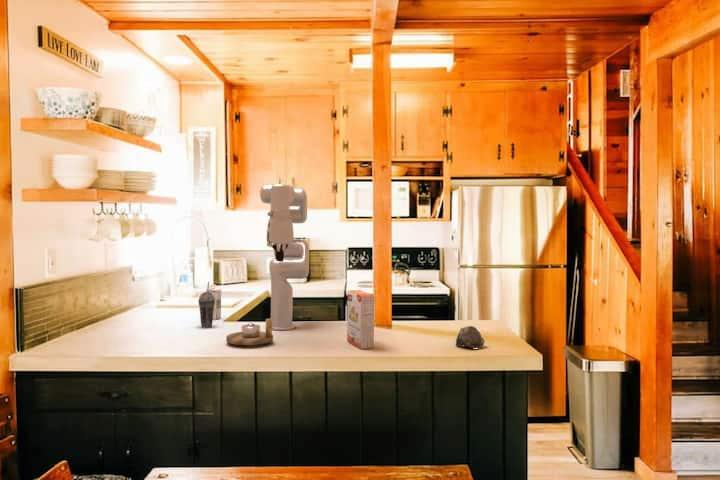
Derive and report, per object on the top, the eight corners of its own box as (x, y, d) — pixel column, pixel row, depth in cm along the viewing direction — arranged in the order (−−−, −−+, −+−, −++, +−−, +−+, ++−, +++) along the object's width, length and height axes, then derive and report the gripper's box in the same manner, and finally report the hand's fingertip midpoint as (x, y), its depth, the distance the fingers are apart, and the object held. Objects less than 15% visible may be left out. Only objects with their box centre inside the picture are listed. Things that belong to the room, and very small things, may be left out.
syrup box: (209, 317, 281) (209, 287, 281) (221, 318, 280) (221, 288, 280) (204, 319, 276) (204, 289, 275) (216, 320, 275) (216, 289, 274)
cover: (239, 337, 225) (239, 325, 225) (244, 334, 232) (244, 322, 232) (257, 338, 225) (257, 326, 225) (261, 334, 232) (261, 322, 232)
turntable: (220, 344, 220) (220, 322, 220) (234, 334, 238) (234, 313, 238) (267, 345, 219) (267, 323, 219) (277, 335, 237) (277, 315, 237)
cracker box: (345, 341, 234) (346, 290, 233) (359, 340, 236) (360, 289, 235) (359, 349, 221) (360, 295, 220) (374, 348, 224) (375, 294, 223)
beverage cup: (194, 327, 257) (194, 282, 256) (204, 324, 264) (205, 280, 263) (208, 329, 254) (208, 283, 253) (218, 326, 261) (218, 281, 260)
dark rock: (476, 350, 221) (465, 325, 223) (457, 358, 226) (446, 334, 229) (488, 344, 230) (478, 321, 232) (470, 352, 235) (459, 329, 237)
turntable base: (231, 341, 230) (231, 339, 230) (257, 338, 236) (257, 336, 236) (242, 347, 221) (242, 345, 221) (268, 344, 227) (268, 341, 227)
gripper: (266, 215, 225) (266, 262, 226) (301, 215, 233) (300, 261, 234) (258, 215, 231) (258, 261, 232) (292, 215, 239) (292, 259, 240)
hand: (279, 261), depth 233 cm, fingers closed
